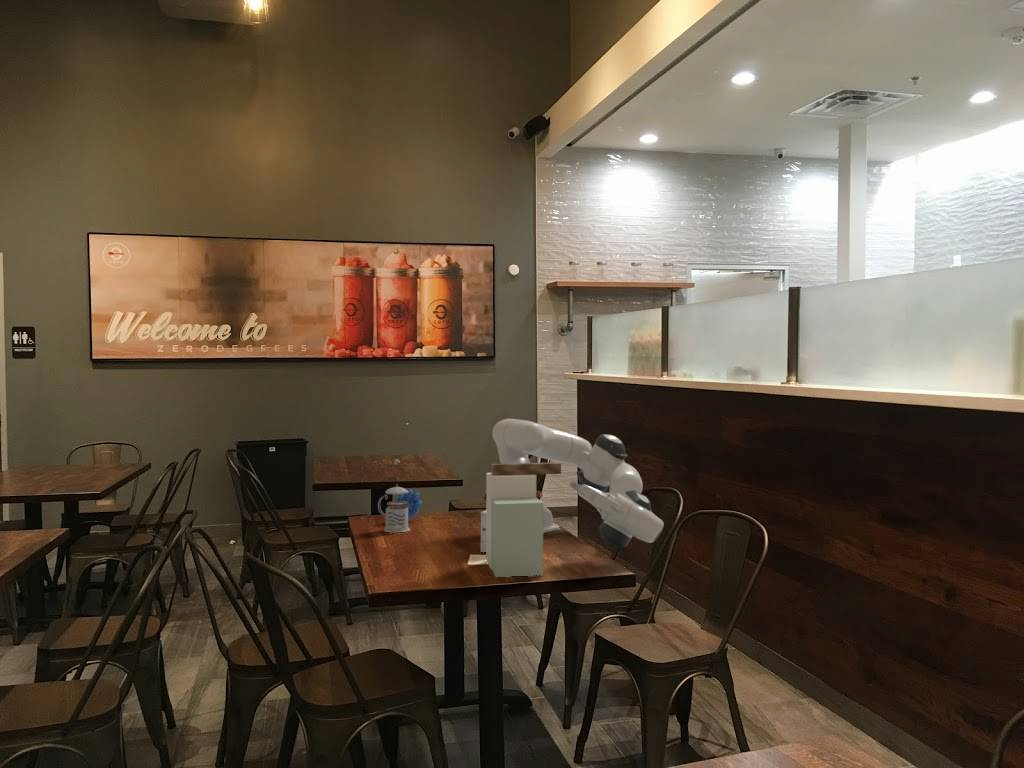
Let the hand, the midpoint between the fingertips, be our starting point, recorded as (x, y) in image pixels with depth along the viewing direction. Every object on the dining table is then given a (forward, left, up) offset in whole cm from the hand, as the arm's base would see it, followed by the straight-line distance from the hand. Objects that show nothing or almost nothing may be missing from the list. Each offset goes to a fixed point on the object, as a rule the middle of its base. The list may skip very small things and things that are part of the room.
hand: (574, 485), depth 225 cm
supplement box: (+12, -24, -22) cm, 35 cm away
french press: (+24, -70, -22) cm, 77 cm away
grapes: (+13, -83, -22) cm, 87 cm away
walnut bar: (+13, -6, +4) cm, 15 cm away
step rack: (+19, -4, -22) cm, 29 cm away
